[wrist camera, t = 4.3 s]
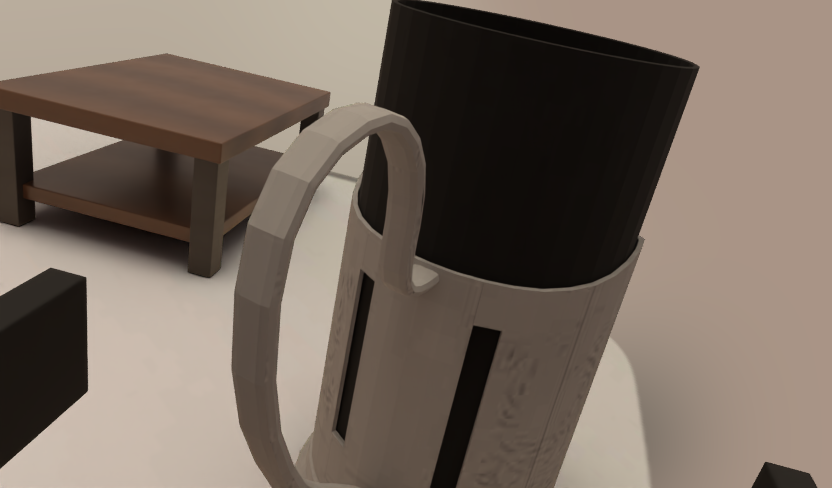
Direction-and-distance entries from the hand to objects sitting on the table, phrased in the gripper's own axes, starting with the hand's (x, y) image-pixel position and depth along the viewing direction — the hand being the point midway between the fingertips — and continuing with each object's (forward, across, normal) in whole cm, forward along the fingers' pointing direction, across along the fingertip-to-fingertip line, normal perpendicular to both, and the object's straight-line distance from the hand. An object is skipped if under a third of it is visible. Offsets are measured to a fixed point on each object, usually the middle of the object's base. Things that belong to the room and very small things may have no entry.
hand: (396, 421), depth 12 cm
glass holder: (+4, 0, -8) cm, 9 cm away
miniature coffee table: (+24, -17, -8) cm, 31 cm away
